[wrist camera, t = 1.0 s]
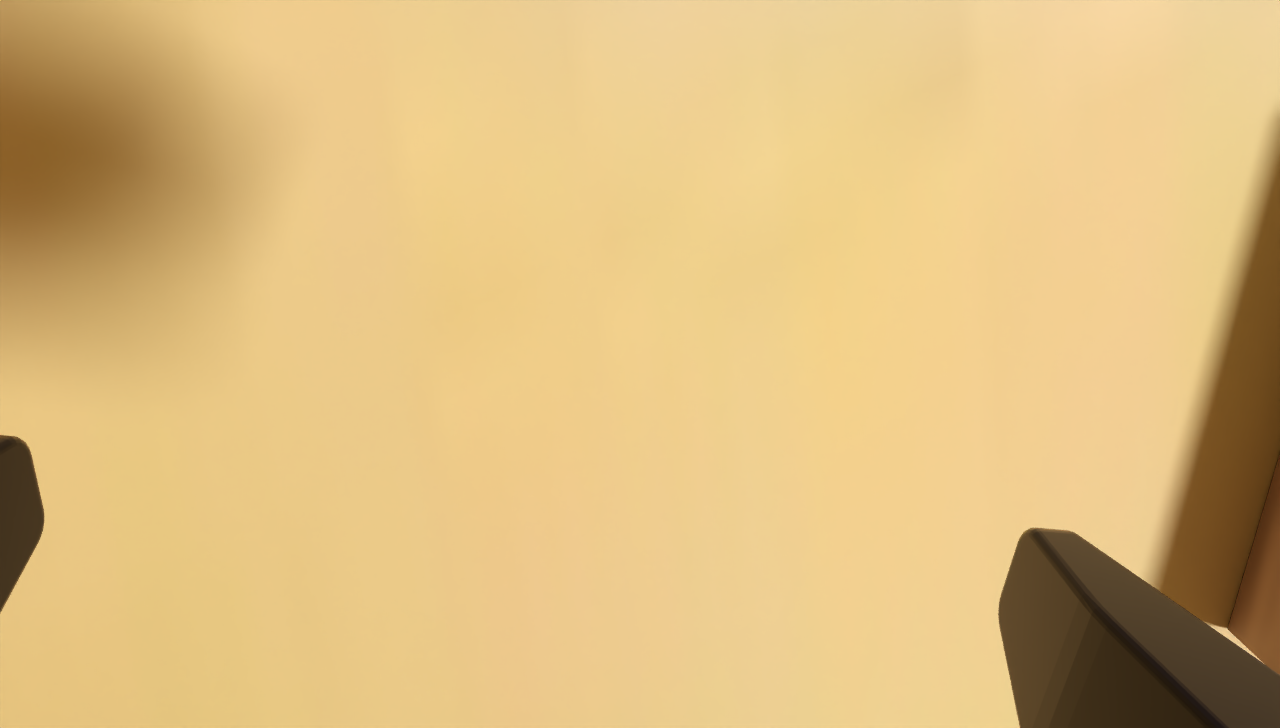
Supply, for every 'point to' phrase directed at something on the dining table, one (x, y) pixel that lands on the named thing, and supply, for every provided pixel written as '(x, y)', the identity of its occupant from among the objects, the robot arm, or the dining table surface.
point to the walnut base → (1262, 586)
